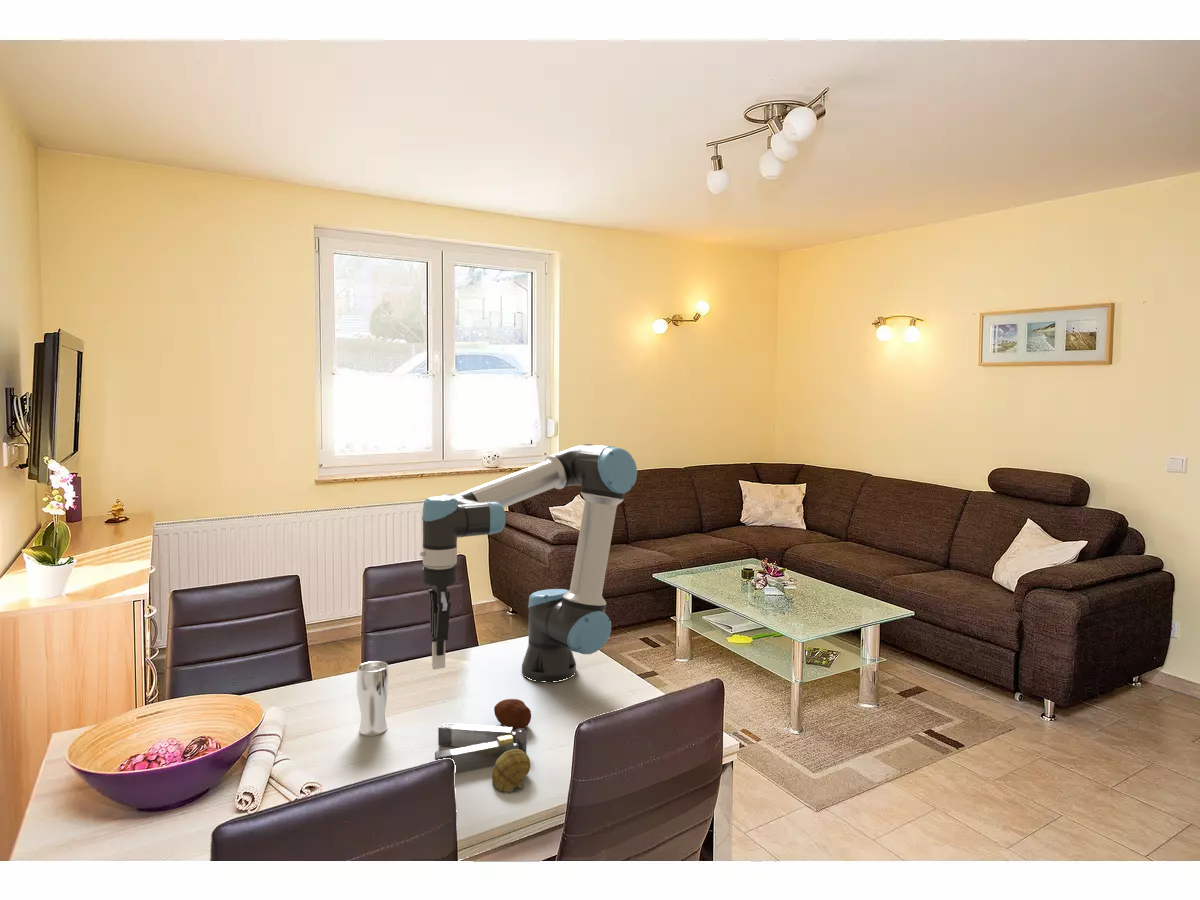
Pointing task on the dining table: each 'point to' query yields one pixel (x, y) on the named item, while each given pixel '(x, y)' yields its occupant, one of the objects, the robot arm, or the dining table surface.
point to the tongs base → (484, 752)
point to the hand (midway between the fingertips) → (438, 667)
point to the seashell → (510, 770)
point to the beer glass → (372, 697)
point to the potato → (512, 713)
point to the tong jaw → (470, 734)
